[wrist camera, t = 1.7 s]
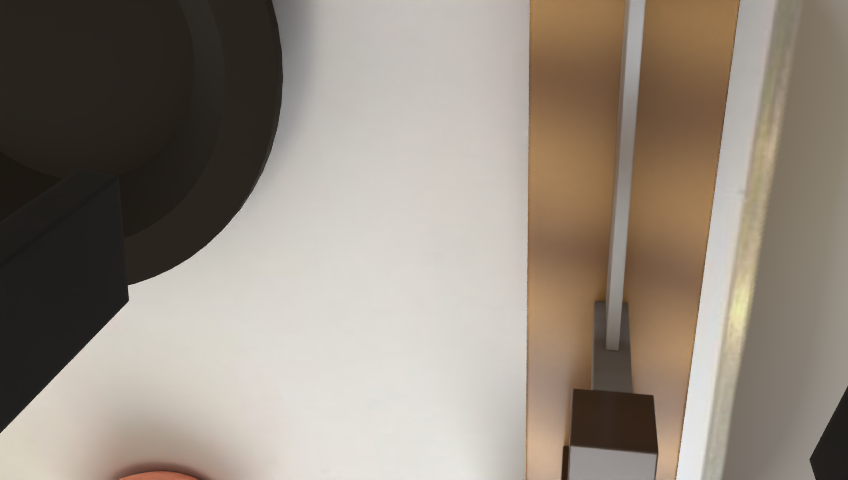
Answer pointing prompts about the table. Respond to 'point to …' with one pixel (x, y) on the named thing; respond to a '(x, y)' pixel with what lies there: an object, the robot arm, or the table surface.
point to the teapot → (159, 476)
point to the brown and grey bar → (615, 323)
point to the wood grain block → (592, 203)
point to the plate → (141, 111)
